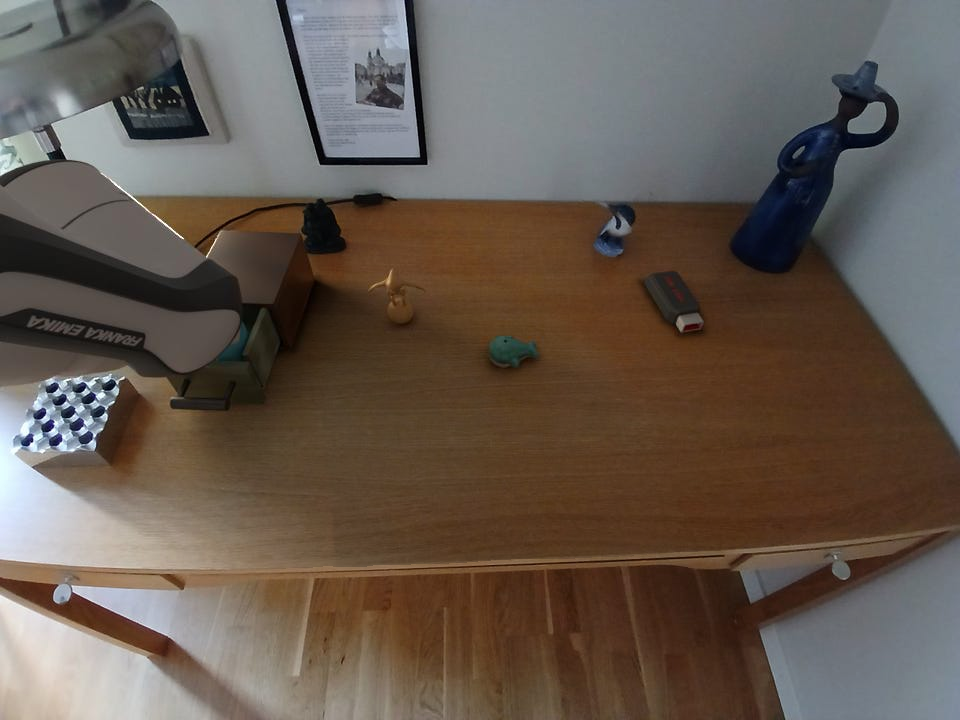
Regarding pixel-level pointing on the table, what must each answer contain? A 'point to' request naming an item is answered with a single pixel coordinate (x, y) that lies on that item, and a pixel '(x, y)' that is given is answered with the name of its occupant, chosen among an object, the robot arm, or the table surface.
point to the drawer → (233, 370)
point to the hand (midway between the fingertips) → (175, 322)
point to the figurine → (399, 307)
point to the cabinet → (269, 274)
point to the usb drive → (675, 300)
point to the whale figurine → (510, 351)
